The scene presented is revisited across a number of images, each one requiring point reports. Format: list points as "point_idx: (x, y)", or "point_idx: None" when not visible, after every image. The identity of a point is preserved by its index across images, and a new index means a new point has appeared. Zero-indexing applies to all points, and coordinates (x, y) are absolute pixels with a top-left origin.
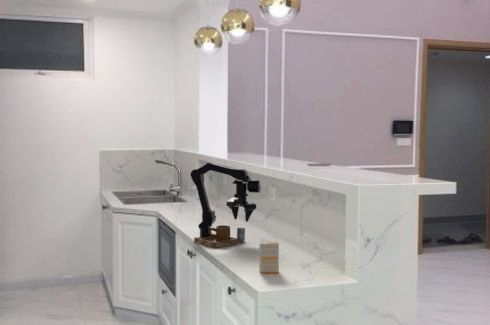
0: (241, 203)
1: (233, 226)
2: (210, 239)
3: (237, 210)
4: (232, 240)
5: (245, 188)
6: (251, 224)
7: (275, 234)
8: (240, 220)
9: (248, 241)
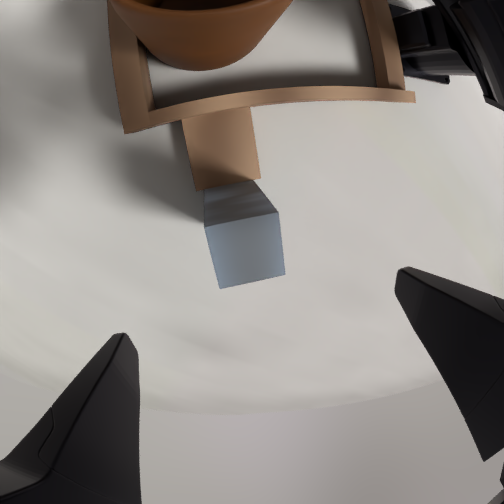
0: None
1: None
2: (368, 26)
3: (470, 403)
4: (113, 63)
5: None
6: None
7: (281, 410)
8: None
9: (190, 247)
